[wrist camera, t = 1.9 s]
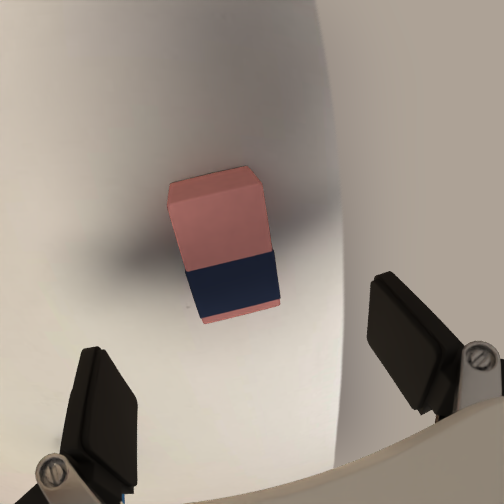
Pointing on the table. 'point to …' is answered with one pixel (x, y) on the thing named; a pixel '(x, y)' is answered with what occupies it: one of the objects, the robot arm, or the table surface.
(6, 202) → the table surface
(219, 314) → the eraser
